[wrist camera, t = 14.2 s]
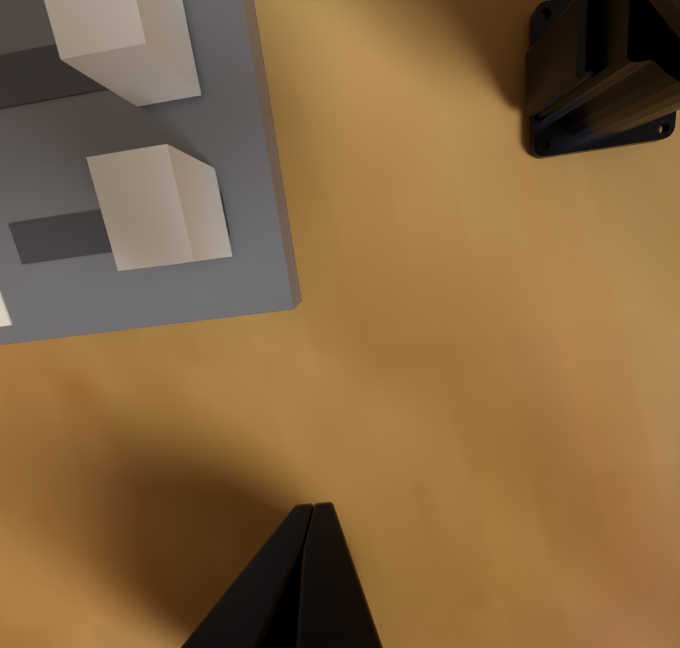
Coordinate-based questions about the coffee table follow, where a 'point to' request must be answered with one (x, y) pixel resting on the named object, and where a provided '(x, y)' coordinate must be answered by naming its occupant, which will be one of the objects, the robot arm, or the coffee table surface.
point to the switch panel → (121, 135)
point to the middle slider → (128, 46)
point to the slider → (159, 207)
